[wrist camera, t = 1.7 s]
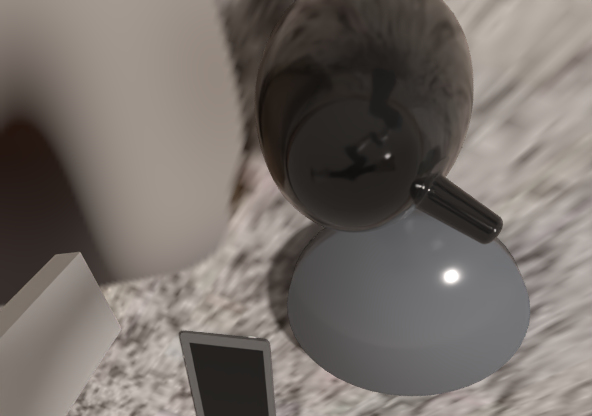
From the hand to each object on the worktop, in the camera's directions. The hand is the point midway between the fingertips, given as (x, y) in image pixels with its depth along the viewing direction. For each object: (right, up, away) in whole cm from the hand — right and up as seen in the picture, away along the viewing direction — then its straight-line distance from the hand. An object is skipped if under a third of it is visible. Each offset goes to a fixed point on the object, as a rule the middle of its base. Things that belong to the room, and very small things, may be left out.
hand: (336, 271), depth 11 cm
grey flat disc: (+7, -5, +24) cm, 26 cm away
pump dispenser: (+3, +10, +16) cm, 19 cm away
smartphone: (-7, -16, +34) cm, 38 cm away
